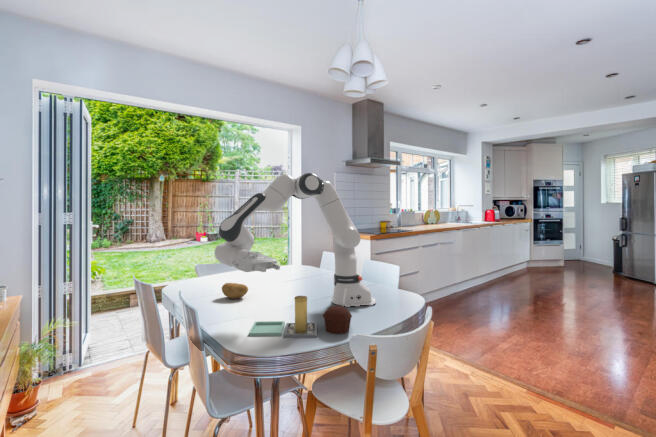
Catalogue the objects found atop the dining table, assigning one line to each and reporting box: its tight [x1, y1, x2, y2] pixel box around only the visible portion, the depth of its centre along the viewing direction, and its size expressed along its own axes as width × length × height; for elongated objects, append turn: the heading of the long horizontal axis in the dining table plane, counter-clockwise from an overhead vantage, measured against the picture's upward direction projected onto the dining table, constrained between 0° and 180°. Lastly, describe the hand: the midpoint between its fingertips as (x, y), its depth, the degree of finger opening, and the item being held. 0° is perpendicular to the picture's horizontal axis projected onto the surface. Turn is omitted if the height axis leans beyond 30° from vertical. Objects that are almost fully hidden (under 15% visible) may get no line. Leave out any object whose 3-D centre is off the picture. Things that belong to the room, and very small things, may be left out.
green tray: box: [248, 320, 286, 337], centre depth 125 cm, size 12×12×2 cm
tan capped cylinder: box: [294, 295, 308, 333], centre depth 124 cm, size 5×5×13 cm
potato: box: [221, 282, 249, 300], centre depth 171 cm, size 10×14×8 cm
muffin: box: [322, 304, 353, 335], centre depth 125 cm, size 12×11×10 cm
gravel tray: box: [283, 322, 318, 339], centre depth 124 cm, size 12×12×2 cm
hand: (272, 268), depth 131 cm, fingers open, 8 cm apart
